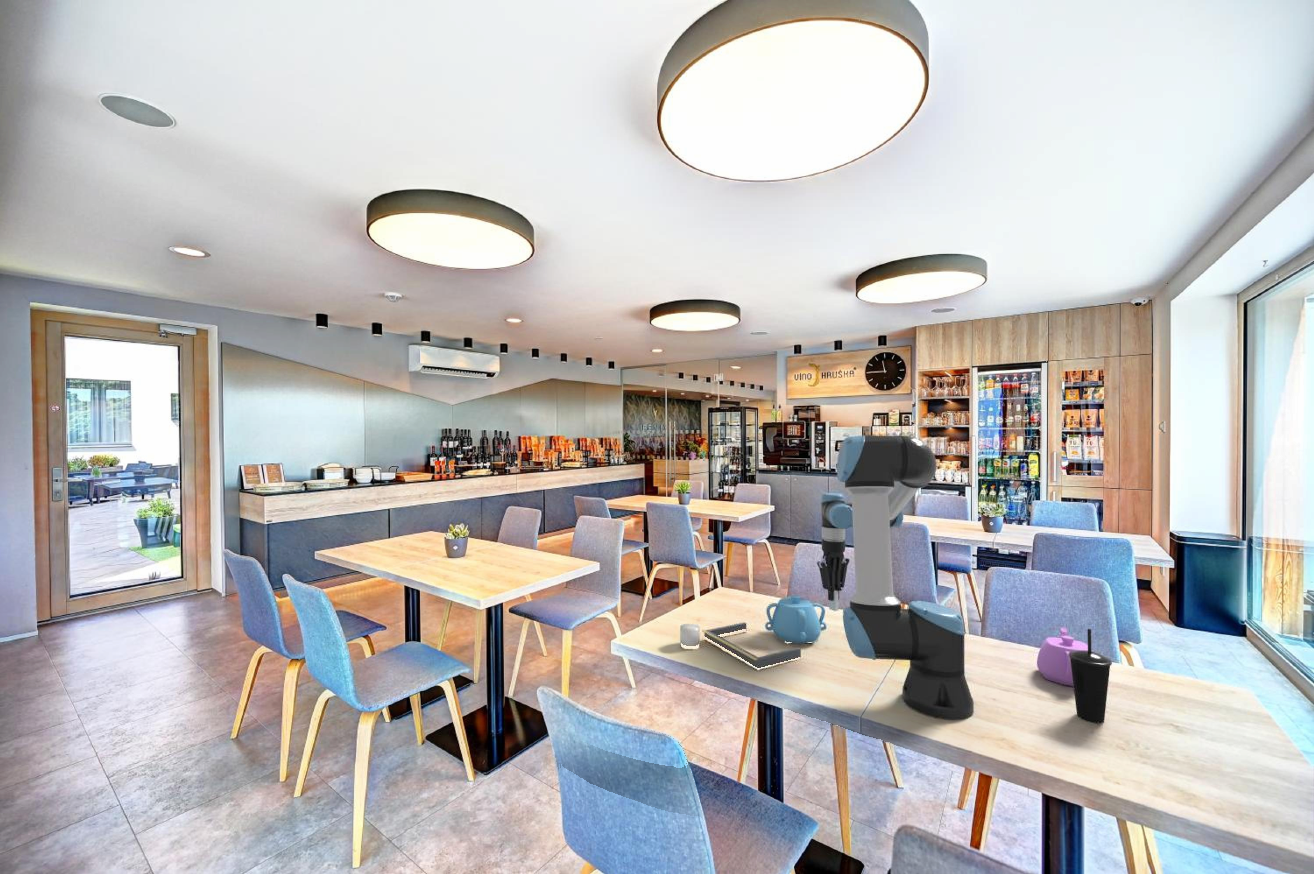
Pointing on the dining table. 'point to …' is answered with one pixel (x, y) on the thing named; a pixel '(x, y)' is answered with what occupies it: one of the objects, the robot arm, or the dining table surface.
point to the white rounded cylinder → (690, 634)
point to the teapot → (1058, 658)
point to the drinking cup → (1090, 682)
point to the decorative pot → (796, 620)
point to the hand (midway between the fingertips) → (833, 609)
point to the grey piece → (744, 654)
